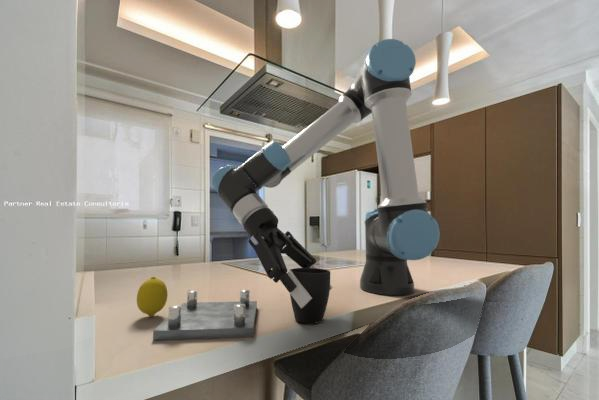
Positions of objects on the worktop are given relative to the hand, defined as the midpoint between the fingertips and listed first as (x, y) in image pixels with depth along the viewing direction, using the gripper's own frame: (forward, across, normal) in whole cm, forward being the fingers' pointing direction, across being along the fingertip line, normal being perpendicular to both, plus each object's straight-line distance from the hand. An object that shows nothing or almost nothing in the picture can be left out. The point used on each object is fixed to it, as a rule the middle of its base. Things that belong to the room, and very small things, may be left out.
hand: (318, 297), depth 56 cm
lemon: (-18, +15, -25) cm, 34 cm away
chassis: (-9, +11, -15) cm, 21 cm away
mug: (+1, 0, -5) cm, 6 cm away
